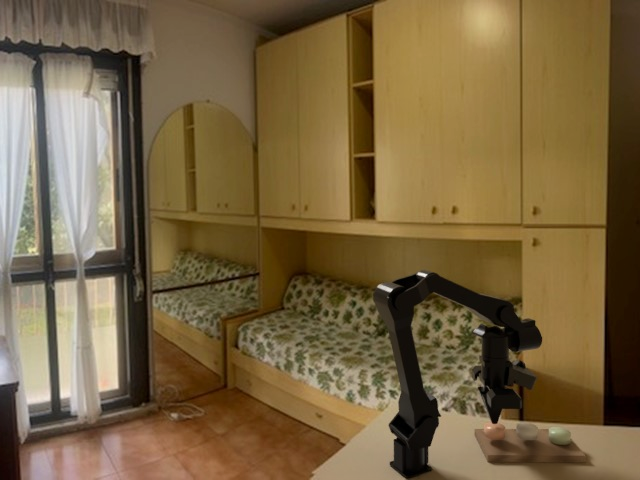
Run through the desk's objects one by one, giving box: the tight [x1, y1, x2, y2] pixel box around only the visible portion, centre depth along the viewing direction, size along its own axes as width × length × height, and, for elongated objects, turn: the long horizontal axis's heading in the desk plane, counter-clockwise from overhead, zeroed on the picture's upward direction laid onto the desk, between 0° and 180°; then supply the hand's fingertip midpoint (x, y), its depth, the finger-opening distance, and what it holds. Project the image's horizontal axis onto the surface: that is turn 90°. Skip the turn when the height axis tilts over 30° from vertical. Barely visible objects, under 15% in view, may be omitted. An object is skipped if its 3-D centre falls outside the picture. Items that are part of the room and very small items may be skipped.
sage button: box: [548, 426, 572, 445], centre depth 117 cm, size 4×4×2 cm
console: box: [473, 428, 586, 463], centre depth 117 cm, size 20×12×2 cm, turn 87°
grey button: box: [515, 422, 539, 440], centre depth 117 cm, size 4×4×2 cm
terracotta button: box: [483, 421, 506, 440], centre depth 117 cm, size 4×4×2 cm
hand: (494, 423), depth 117 cm, fingers closed
